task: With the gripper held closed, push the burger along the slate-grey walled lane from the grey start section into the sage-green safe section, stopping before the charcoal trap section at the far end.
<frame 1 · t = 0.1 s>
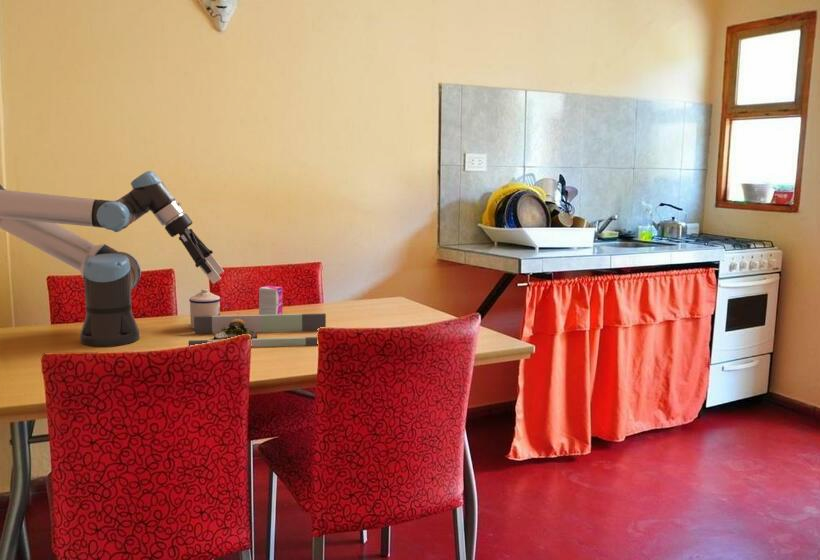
hand: (219, 277, 216), 15 cm above the table, tool tilted 35°, fingers open, 13 cm apart
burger: (236, 341, 204), on the table
trap lane: (261, 338, 205), on the table
supplement box: (270, 323, 225), on the table
teacup with lid: (204, 326, 219), on the table
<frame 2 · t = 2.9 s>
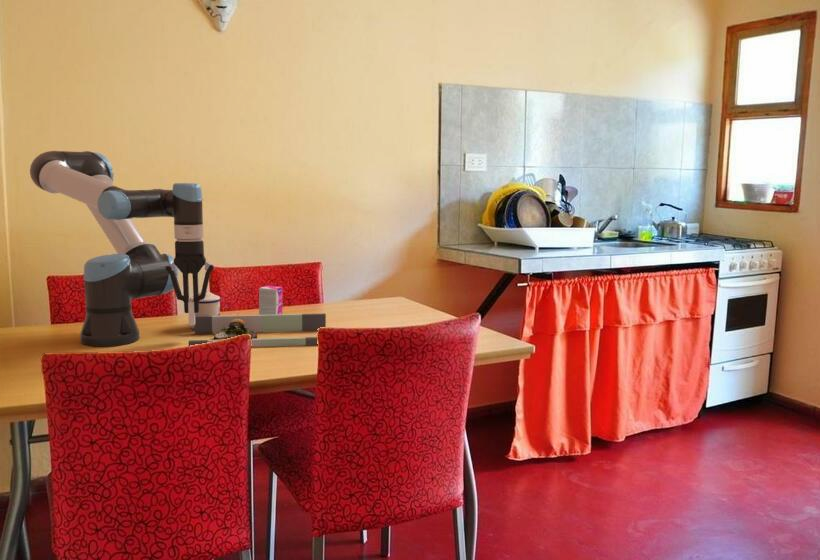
hand: (192, 324, 200), 5 cm above the table, tool pointing down, fingers closed
nothing on the table moved.
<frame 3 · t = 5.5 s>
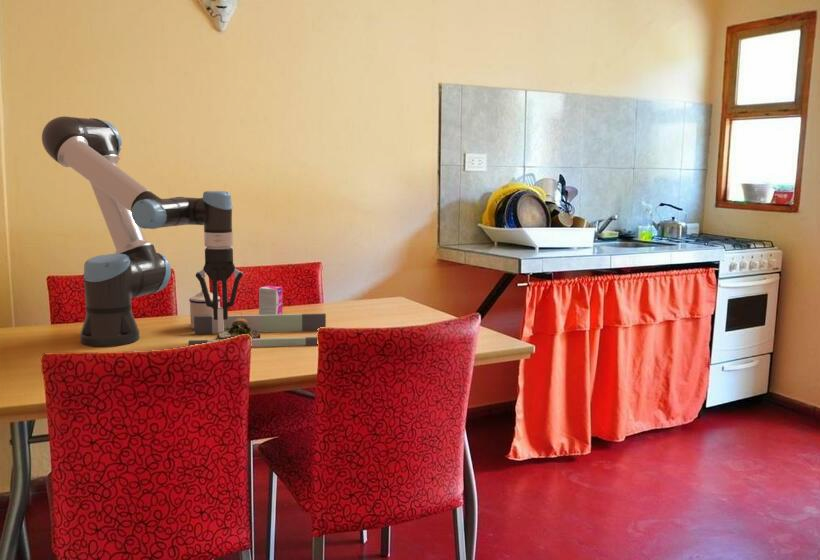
hand: (221, 330, 202), 3 cm above the table, tool pointing down, fingers closed
nothing on the table moved.
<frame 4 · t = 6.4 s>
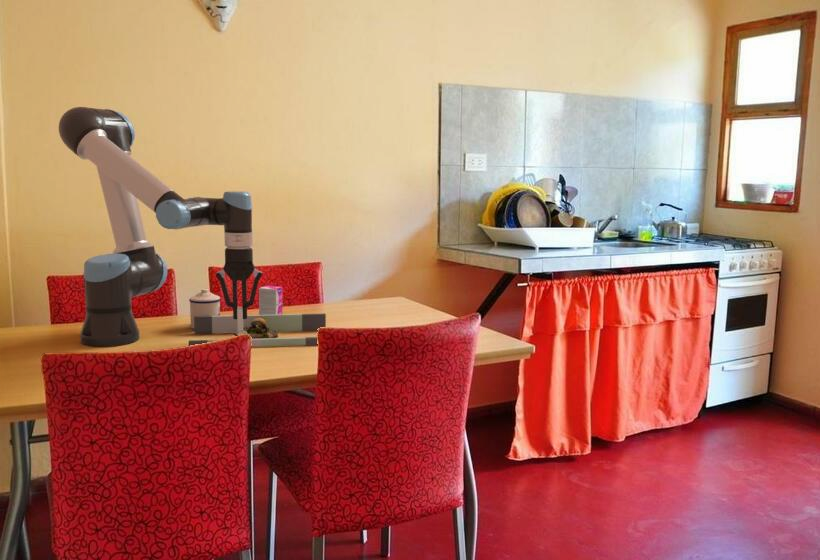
hand: (240, 330, 203), 3 cm above the table, tool pointing down, fingers closed
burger: (257, 340, 204), on the table, touching gripper
everything else where it was.
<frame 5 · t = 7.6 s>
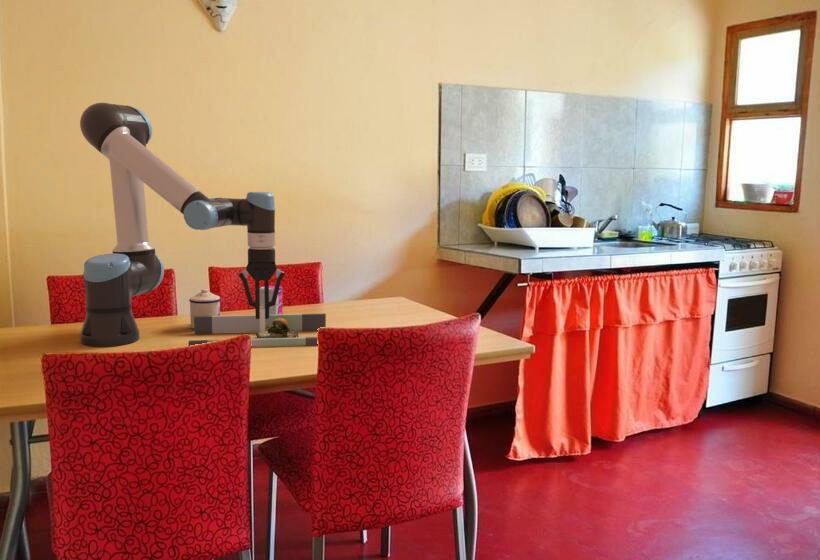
hand: (262, 329, 204), 3 cm above the table, tool pointing down, fingers closed
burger: (277, 340, 205), on the table
everything else where it was.
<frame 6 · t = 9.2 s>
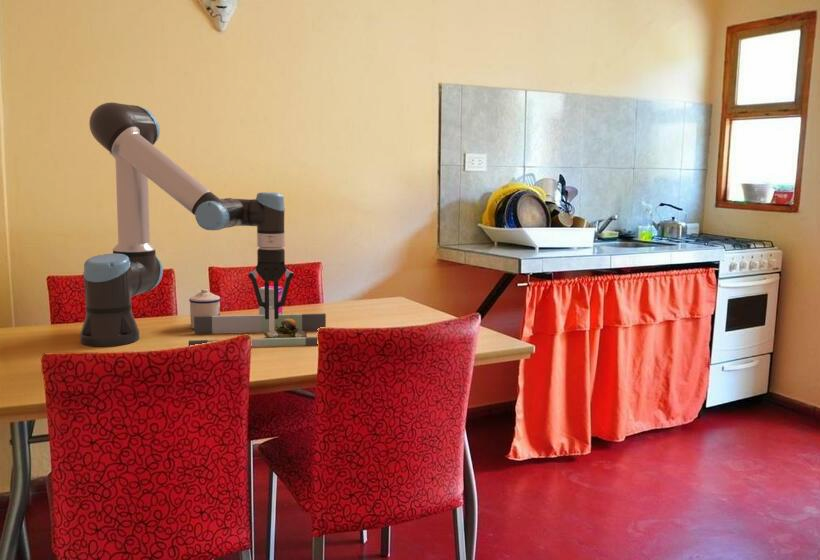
hand: (271, 330, 205), 2 cm above the table, tool pointing down, fingers closed
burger: (286, 340, 206), on the table
everything else where it was.
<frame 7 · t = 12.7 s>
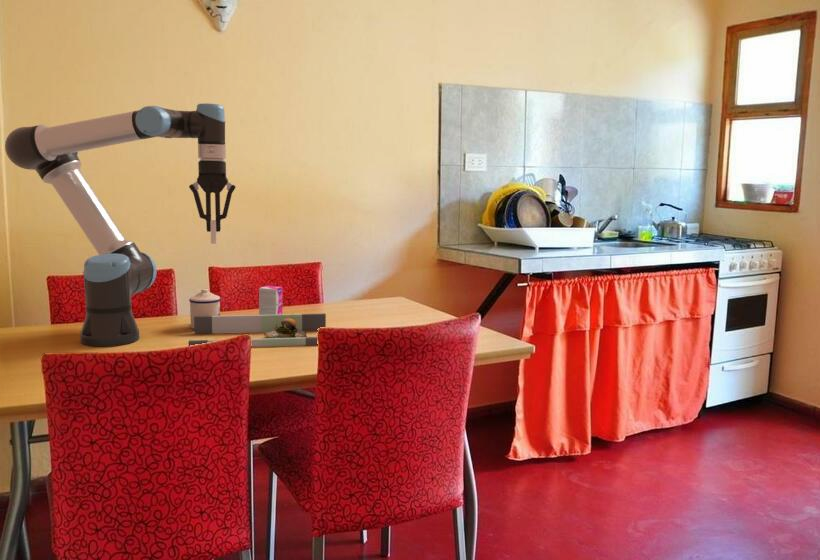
hand: (213, 243, 207), 26 cm above the table, tool pointing down, fingers closed
nothing on the table moved.
at the end: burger inside the target area (1.2 cm from its centre), on the table; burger tilted 0° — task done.
